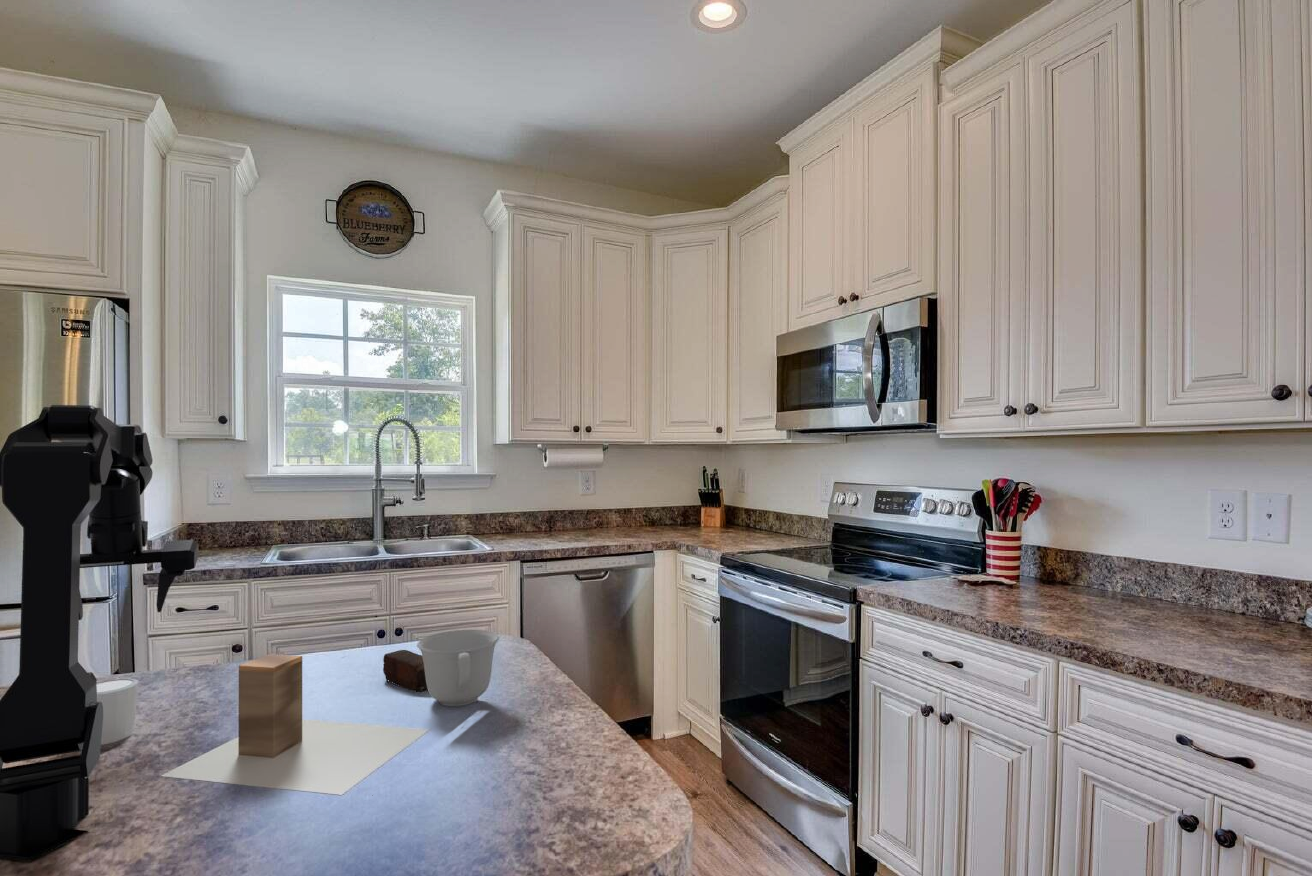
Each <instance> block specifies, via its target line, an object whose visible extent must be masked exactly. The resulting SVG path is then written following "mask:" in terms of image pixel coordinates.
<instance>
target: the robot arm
mask: <svg viewBox="0 0 1312 876" xmlns="http://www.w3.org/2000/svg"><path fill="white" fill-rule="evenodd" d="M152 464H153V455H152V451H151V447H150V443H149V438H148V434H147V432H143V430H142V428H141V426H140V425H139V424H117V423H115V422H114V421H112V420H111V419H109V418H108V417H107V416H105V415H104V412H103V409H102V408H101V407H96V406H94V405H91V404H89V405H85V404H83V405H82V404H81V405H78V404H77V405H76V404H52V405H50V406H44V407H43V408H42V409H41V411H40V413H39V416H38V417H37V418H36V419H34V420H32V421H31V422H29V423H27V424H26V425H23V426H22V427H20V428H18V429H16V430H15V431H12V432H11V433H10V434H9V435H8V436H7V438H6V440H5V442H4V444H3V446H2V448H1V450H0V488H1V502H2V504H3V505H4V506H5V508H6V509H7V510H8V512H10V514H11V515H12V516H13V517H14V519H15V521H17V522H18V523H19V524H20V526H21V527H22V560H21V561H22V563H21V564H22V565H21V598H20V600H21V601H20V602H21V603H20V629H19V631H20V633H19V635H20V637H19V640H20V641H19V669H18V676H17V677H16V678H15V679H14V680H13V682H12V683H11V685H10V686H9V687H8V688H7V690H6V692H5V693H4V694H3V696H2V697H1V698H0V859H5V860H11V861H19V862H32V861H34V860H37V859H39V858H40V857H43V856H44V855H46V854H48V853H50V852H51V851H54V850H55V849H58V848H59V847H61V846H63V845H65V844H68V843H69V842H71V841H72V840H75V839H77V838H78V837H80V836H82V835H83V834H86V833H88V832H89V830H85V829H76V826H77V825H78V823H79V821H81V820H83V819H85V818H86V817H87V816H88V815H89V813H90V811H89V810H90V809H89V808H90V806H89V805H90V778H89V776H90V775H91V774H92V772H93V771H94V769H95V768H96V766H97V765H98V763H99V761H100V759H101V746H102V745H101V737H102V726H103V705H102V702H97V683H98V679H97V678H96V676H95V675H94V673H93V672H91V671H89V672H88V671H87V670H86V669H85V668H84V667H83V666H82V664H81V663H79V630H80V628H79V625H80V624H79V622H80V621H81V620H82V619H83V617H84V608H83V607H84V606H83V601H82V596H81V595H82V594H81V590H80V579H81V578H80V577H81V569H87V568H88V569H89V568H100V567H101V568H102V567H117V566H128V565H130V566H131V565H132V566H133V565H144V564H146V565H147V564H157V563H158V564H159V563H160V567H161V569H160V572H159V573H158V580H157V595H156V611H157V613H161V612H162V610H163V606H164V604H165V601H166V597H167V596H168V595H167V594H168V592H169V589H170V587H171V585H172V584H173V582H174V580H175V578H176V577H182V576H184V575H185V573H186V571H190V570H194V569H195V568H196V564H197V563H198V562H197V561H198V559H199V556H200V554H199V543H198V542H197V541H196V540H194V539H184V540H183V539H181V540H180V539H179V540H166V542H165V543H164V545H163V548H161V549H143V548H144V547H146V546H147V543H148V533H149V532H148V530H149V527H148V524H149V522H148V521H147V520H142V510H141V509H142V508H141V495H142V494H143V493H144V491H145V489H146V488H147V487H148V485H149V484H150V482H151V481H152V479H153V474H154V473H153V469H152V467H151V466H152ZM87 517H88V522H87V530H86V536H87V539H90V553H81V534H82V532H81V531H82V528H81V527H82V524H83V522H85V520H86V518H87ZM76 752H81V754H79V755H78V754H77V755H72V756H67V757H61V758H60V757H59V758H55V759H50V760H45V761H44V760H43V761H38V762H32V763H31V762H30V763H27V764H26V763H25V764H20V765H15V766H10V767H9V766H8V767H7V766H6V767H3V764H5V765H6V764H12V763H17V762H18V763H19V762H24V761H30V760H35V759H40V758H41V759H42V758H48V757H54V756H60V755H64V754H65V755H66V754H73V753H76Z"/></svg>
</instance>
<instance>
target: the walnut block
mask: <svg viewBox="0 0 1312 876" xmlns="http://www.w3.org/2000/svg"><path fill="white" fill-rule="evenodd" d="M302 719H303V655H292V654H274V653H273V654H272V653H268V654H266V655H263V656H259V657H258V658H255V659H252V660H250V661H247V662H245V663H243V664H239V665H238V737H239V747H238V755H246V756H256V757H267V758H274V757H276V756H277V755H279V754H281V753H283V752H284V751H286V750H288V749H290V748H291V747H293V746H295V745H297V744H298V743H300V742H302Z"/></svg>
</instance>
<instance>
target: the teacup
mask: <svg viewBox="0 0 1312 876" xmlns="http://www.w3.org/2000/svg"><path fill="white" fill-rule="evenodd" d="M499 640H500V635H498V634H497V633H496V632H493V631H490V630H483V629H459V630H449V631H443V632H438V633H433V634H430V635H428V636H424V637H423V638H421V639H420V640H419V641H418V642H417V643H416V647H417V649H419V650H420V652H421V655H422V657H423V662H424V670H425V678H426V684H427V688H428V689H427V690H428V691H427V692H428V693H429V695H430V697H432V699H434V700H435V701H438V702H440V704H441V705H443V706H445V707H446V706H448V707H459V706H460V707H461V706H466V705H469V704H473V703H474V702H479V699H478V698H480V697H481V696H482V695H484V694H485V692H486V691H487V690H488V688H489V686H490V682H491V676H492V670H493V660H494V652H495V647H496V645H497V643H498V641H499Z"/></svg>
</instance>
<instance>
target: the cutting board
mask: <svg viewBox="0 0 1312 876" xmlns="http://www.w3.org/2000/svg"><path fill="white" fill-rule="evenodd" d="M429 731H431V728H430V729H428V728H418V727H417V728H416V727H406V726H405V727H404V726H395V725H393V726H391V725H377V724H365V723H353V722H342V721H341V722H340V721H332V720H331V721H330V720H329V721H328V720H316V719H314V720H313V719H303V718H302V742H300V743H298V744H297V745H295V746H293V747H291V748H290V749H288V750H286V751H284V752H283V753H281V754H279V755H277V756H276V757H274V758H267V757H256V756H246V755H238V747H239V736H237V737H235V738H233V739H231V740H229V741H227V742H225V743H223V744H221V745H219V746H217V747H215V748H213V749H211V750H209V751H208V752H206V753H202V754H201V755H199V756H197V757H195V758H193V759H192V760H189V761H188V762H186V763H183V764H182V765H180V766H178V767H175V768H173V769H171V770H169V771H167V772H166V773H163V774H162V775H160V777H163V778H172V779H183V780H192V781H201V782H212V783H220V784H231V785H240V786H249V787H258V788H259V787H260V788H267V789H268V788H269V789H278V790H286V791H296V792H306V793H315V794H316V793H318V794H324V795H335V796H343V795H345V794H346V793H347V792H349V791H350V790H351V789H352V788H354V787H355V786H356V785H358V784H359V783H361V782H362V781H363V780H365V779H366V778H367V777H368V776H370V775H371V774H373V773H374V772H375V771H377V770H378V769H379V768H380V767H382V766H384V765H386V763H387V762H389V761H390V760H392V759H393V758H394V757H396V756H397V755H398V754H399V753H401V752H402V751H404V750H405V749H406V748H408V747H409V746H411V745H412V744H413V743H414V742H416V741H417V740H418V739H420V738H422V736H424V735H426V734H427V733H428V732H429Z"/></svg>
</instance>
